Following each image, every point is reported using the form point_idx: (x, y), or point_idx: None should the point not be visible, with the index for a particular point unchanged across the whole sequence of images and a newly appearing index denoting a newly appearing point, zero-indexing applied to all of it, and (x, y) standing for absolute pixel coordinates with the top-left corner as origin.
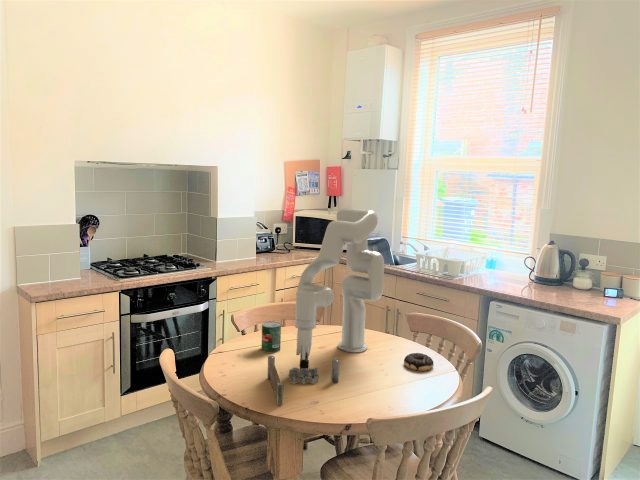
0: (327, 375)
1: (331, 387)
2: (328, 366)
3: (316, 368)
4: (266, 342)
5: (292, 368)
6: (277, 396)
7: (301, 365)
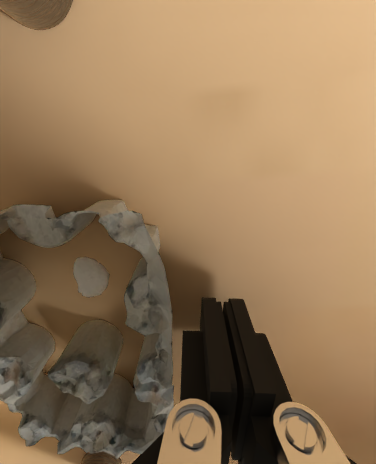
0: None
1: (21, 448)
2: (337, 440)
3: None
4: None
5: (154, 251)
6: None
7: (205, 353)
